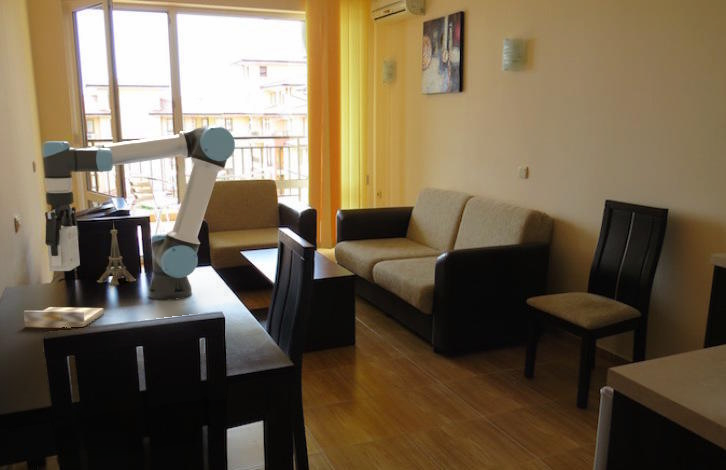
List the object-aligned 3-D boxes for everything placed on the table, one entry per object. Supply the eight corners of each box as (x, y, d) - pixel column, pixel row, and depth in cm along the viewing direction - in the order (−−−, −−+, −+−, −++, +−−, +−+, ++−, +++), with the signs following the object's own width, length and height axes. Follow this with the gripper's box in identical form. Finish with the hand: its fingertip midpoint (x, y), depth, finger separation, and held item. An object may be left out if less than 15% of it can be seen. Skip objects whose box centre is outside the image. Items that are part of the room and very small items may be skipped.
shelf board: (103, 313, 190) (102, 299, 190) (82, 328, 176) (81, 312, 176) (50, 312, 191) (48, 298, 190) (24, 327, 177) (23, 311, 176)
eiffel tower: (136, 280, 234) (133, 219, 229) (113, 285, 225) (109, 223, 220) (120, 276, 239) (116, 217, 235) (97, 281, 230) (93, 220, 226)
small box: (60, 265, 186) (57, 225, 184) (80, 265, 187) (77, 225, 185) (49, 271, 178) (45, 229, 176) (70, 271, 179) (67, 230, 177)
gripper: (65, 188, 189) (70, 255, 193) (27, 194, 168) (33, 270, 172) (87, 188, 189) (92, 255, 193) (52, 195, 168) (58, 270, 172)
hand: (64, 262), depth 182 cm, fingers closed on small box, 8 cm apart
